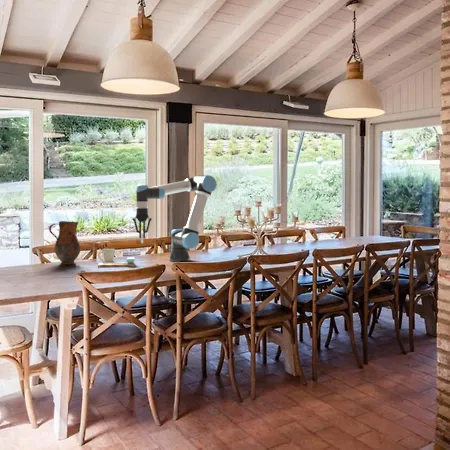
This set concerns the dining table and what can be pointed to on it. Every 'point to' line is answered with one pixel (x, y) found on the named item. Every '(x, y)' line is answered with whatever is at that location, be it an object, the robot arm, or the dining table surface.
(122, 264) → the wooden flat board
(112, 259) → the mug
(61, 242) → the pitcher
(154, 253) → the dining table surface
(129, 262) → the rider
